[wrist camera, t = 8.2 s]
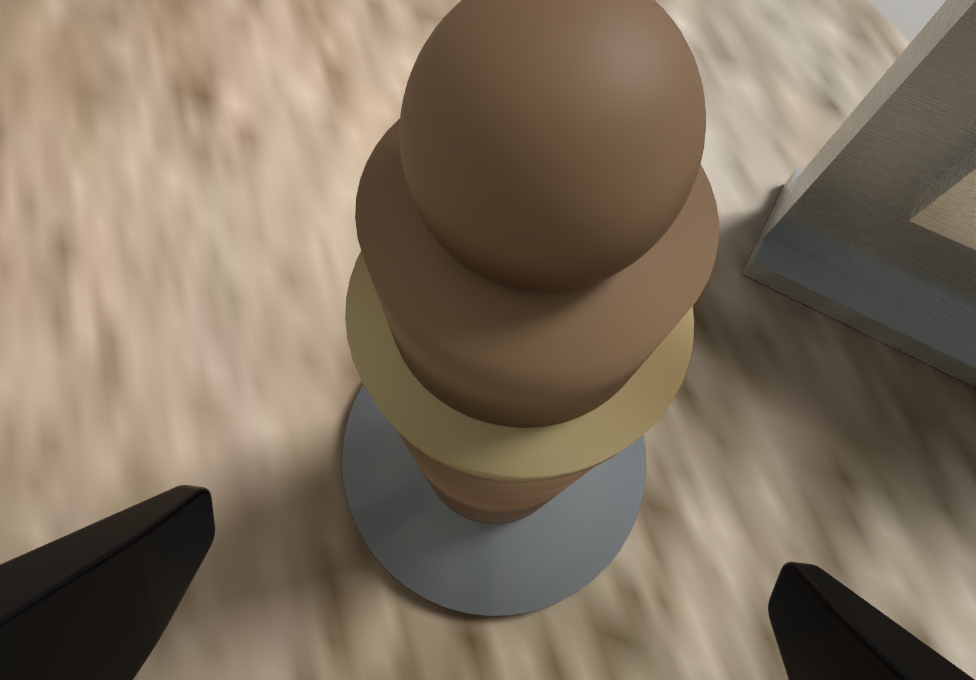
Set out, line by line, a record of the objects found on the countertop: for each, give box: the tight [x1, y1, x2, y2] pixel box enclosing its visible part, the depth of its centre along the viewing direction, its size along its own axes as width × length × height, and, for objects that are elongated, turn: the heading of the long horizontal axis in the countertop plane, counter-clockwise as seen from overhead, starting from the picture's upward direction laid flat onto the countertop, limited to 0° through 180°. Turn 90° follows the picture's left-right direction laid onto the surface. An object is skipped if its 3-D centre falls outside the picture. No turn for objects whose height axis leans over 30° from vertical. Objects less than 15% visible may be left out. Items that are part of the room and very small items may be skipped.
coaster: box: [342, 384, 646, 616], centre depth 18 cm, size 11×11×1 cm
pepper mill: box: [345, 0, 719, 524], centre depth 11 cm, size 5×5×16 cm
